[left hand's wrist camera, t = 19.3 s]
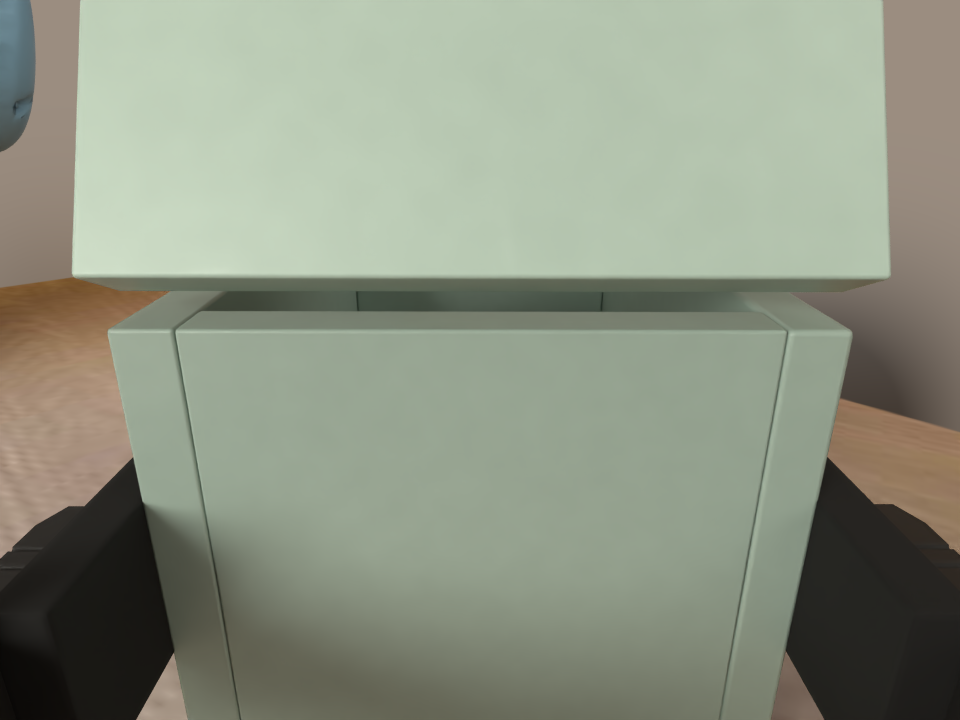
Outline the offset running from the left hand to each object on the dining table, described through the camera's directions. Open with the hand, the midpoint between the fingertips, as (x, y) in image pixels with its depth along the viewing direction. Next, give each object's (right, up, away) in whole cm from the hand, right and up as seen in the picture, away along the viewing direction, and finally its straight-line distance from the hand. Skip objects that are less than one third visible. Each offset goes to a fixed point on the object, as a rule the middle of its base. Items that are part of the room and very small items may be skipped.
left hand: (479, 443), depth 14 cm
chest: (0, -5, +5) cm, 7 cm away
